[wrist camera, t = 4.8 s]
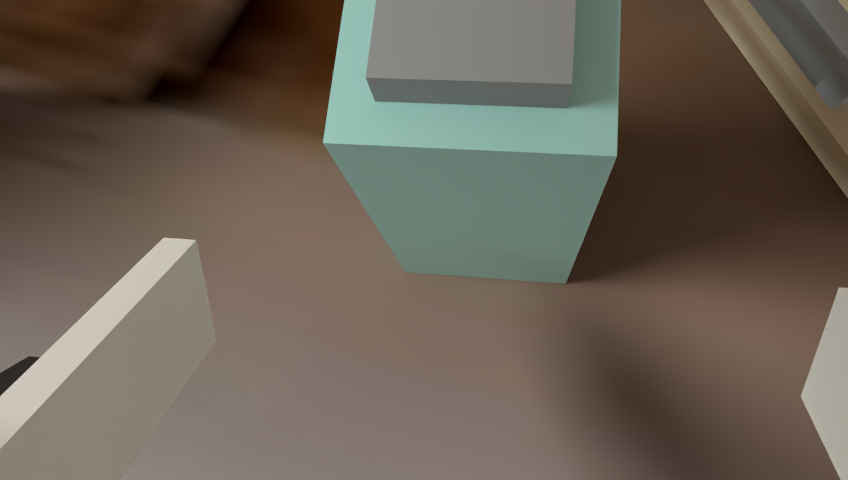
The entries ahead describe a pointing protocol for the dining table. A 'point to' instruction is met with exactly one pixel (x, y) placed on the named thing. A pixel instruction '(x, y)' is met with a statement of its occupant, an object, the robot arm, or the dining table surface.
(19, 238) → the dining table surface
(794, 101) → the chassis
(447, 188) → the pale green upright block
